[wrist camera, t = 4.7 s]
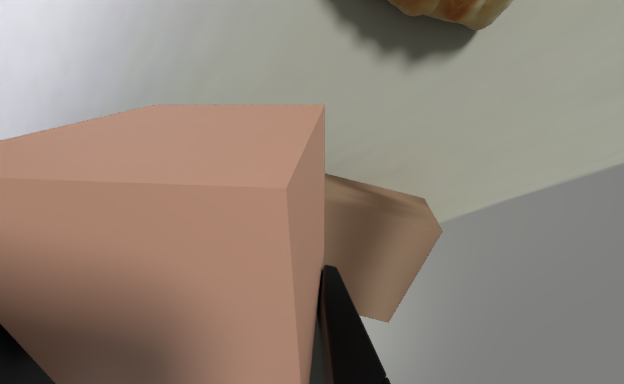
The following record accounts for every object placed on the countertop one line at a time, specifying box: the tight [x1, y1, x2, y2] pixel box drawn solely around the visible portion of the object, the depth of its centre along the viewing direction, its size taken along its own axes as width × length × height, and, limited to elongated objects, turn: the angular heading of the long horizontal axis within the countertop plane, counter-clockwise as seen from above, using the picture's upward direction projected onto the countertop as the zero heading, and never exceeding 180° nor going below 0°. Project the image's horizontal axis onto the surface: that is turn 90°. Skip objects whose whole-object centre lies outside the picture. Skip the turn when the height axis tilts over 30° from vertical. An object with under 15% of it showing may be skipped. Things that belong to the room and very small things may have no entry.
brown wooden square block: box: [322, 174, 442, 322], centre depth 19 cm, size 9×9×4 cm
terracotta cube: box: [0, 105, 325, 384], centre depth 6 cm, size 5×5×5 cm
